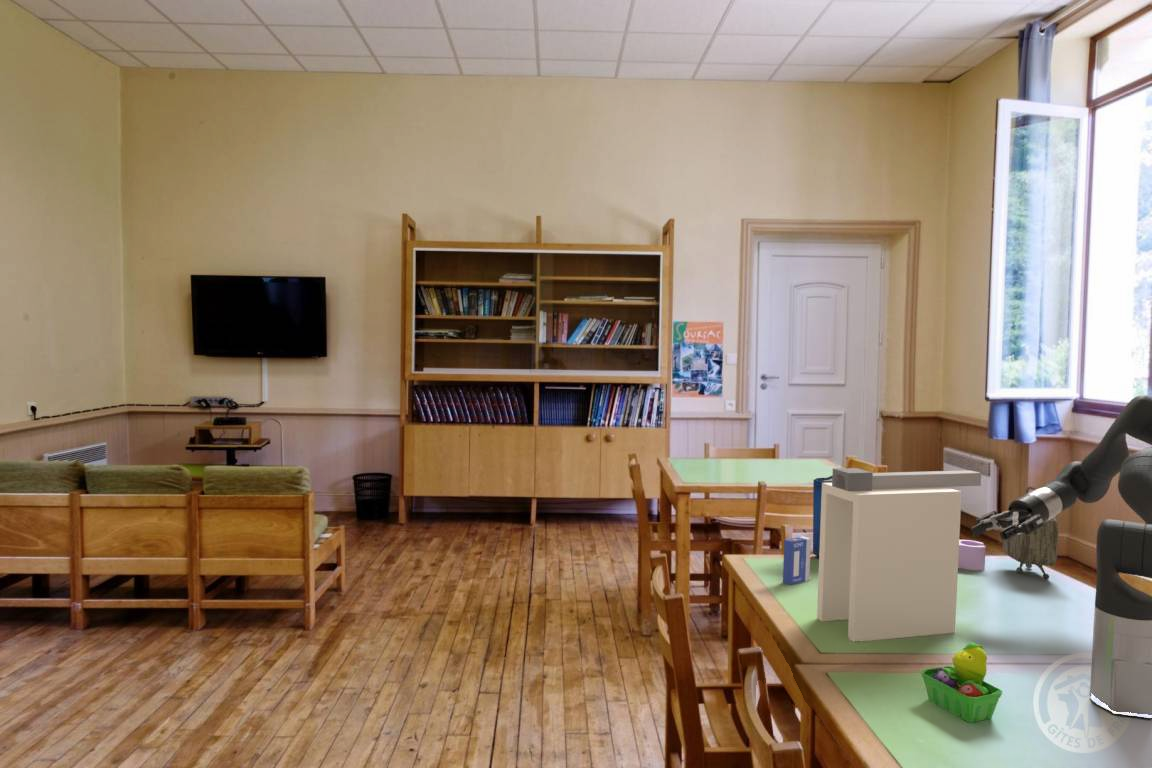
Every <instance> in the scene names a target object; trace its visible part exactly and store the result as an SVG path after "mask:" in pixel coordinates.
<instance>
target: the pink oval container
mask: <svg viewBox="0 0 1152 768" xmlns="http://www.w3.org/2000/svg"><path fill="white" fill-rule="evenodd" d="M986 550H987V549H986V545H985V544H984V542H981V541H977V540H973V539H972V540H971V539H959V557H958V569H965V570H970V571H971V570H972V571H984V570H985V567H986V552H987V551H986Z"/></svg>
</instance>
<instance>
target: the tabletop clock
mask: <svg viewBox="0 0 1152 768" xmlns="http://www.w3.org/2000/svg"><path fill="white" fill-rule="evenodd" d="M1036 489H1037V488H1035V487H1034V486H1028V487H1027V488H1026V490H1025V494H1027V493H1029V492H1030V491H1029V490H1032V491H1033V490H1036ZM1058 523H1059V522H1058V520H1057V519H1056V517H1053V518H1052V519H1050V520H1048V521H1046V522H1044V525H1043V526H1041V527H1040V528H1038V529H1037V530H1035V531H1033V532H1032V533H1030V534H1024V533H1022V534H1020V535H1014V536H1013V537H1011V538H1009V539H1007V540H1002V539H1001V540H1002V551H1003V552H1004V553H1005V554H1006V555H1007V556H1008V557H1010V558H1011V559H1012V560H1015V561H1017V562H1018V563H1020V564H1019V566H1018V567H1016V572H1017V573H1018V574H1022V573H1023V565H1025V567H1026V568H1027V569H1032V567H1033V565H1034V566H1037V567H1038V568H1039V570H1040V571H1041V572H1042V578H1043V579H1044V580H1049V579H1050V575H1049V574H1048V573H1046V572H1045V569H1044V567H1043V566H1050V567H1051V566H1052V567H1053V566H1055V565H1056V563H1057V558H1058V551H1059V550H1058V549H1059V524H1058ZM1004 529H1005V528H1004Z"/></svg>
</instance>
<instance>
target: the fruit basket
mask: <svg viewBox="0 0 1152 768" xmlns="http://www.w3.org/2000/svg"><path fill="white" fill-rule="evenodd" d="M987 659H988V656H987V653H986V651H984V647H983V646H982V645H981V644H977V643H975V642H969V643H968V644H966V646H964V647H963V648H962V650H960V651H958V652H957V653H955V654H954V655H953V656H952V660H951V661H952V664H953V666H948V665H946V666H939V667H931V668H927V669H926V668H925V669H923V670H920V673H921V676H922V678H923V682H924V686H925V690H926V693H927V698H928V700H929V701H930V702H931V703H934V704H935V705H938V706H939V707H941V708H943V709H945V710H946V711H949V712H950V713H951V714H953V715H955V716H956V717H959V718H961V719H962V720H964V721H966V722H967V723H969V724H971V723H974V722H981V721H985V720H987V719H989V720H990V719H992V718H993V715H994V713H995V710H996V706H997V704H998V702H999V699H1000V698H1001V697H1002V695H1003V690H1001V689H1000V688H998V687H996V686H994V685H992V684H990V683H988V682H986V681H984V679H985V677H986V675H987V670H988V669H987Z"/></svg>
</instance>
